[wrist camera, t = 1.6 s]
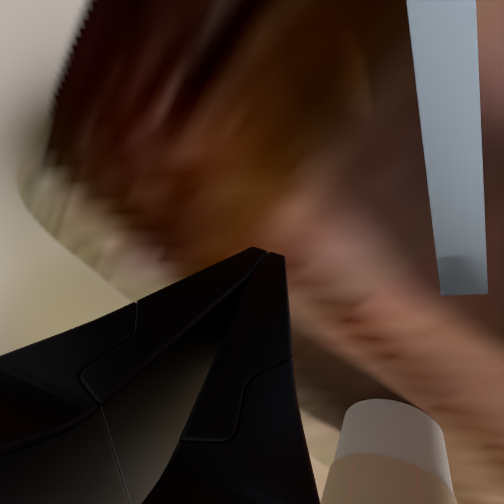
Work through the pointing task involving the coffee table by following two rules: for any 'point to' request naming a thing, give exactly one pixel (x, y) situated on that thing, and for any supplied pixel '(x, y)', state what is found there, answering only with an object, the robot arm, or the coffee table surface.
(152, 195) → the coffee table surface
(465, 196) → the gate
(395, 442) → the coffee cup
